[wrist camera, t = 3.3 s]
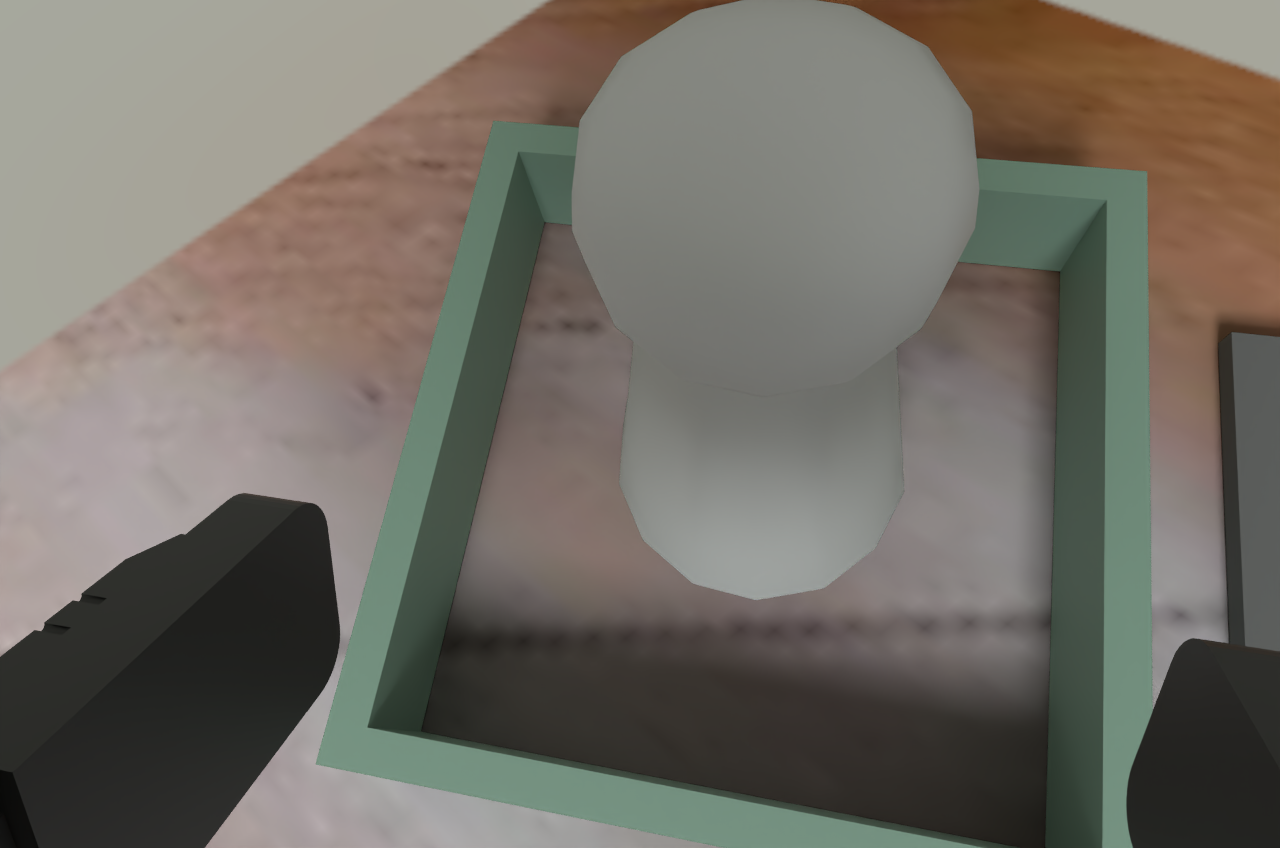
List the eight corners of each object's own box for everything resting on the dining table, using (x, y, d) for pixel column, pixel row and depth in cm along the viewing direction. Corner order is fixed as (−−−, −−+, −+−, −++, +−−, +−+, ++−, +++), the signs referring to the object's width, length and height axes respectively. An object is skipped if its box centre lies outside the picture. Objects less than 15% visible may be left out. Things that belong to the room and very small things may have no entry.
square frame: (1095, 245, 22) (1146, 171, 19) (1087, 906, 17) (1154, 935, 14) (522, 194, 24) (493, 120, 21) (376, 763, 20) (315, 764, 17)
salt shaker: (851, 354, 22) (989, -156, 10) (916, 588, 20) (1198, 318, 7) (614, 401, 22) (452, -39, 10) (653, 637, 20) (513, 451, 8)
